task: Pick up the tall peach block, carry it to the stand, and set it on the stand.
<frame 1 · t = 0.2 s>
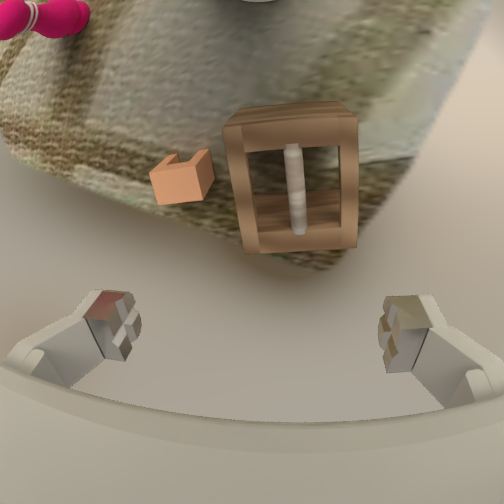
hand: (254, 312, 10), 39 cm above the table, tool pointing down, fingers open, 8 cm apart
tall peach block: (191, 166, 47), on the table
stand: (293, 155, 45), on the table
pepper mill: (76, 18, 33), on the table
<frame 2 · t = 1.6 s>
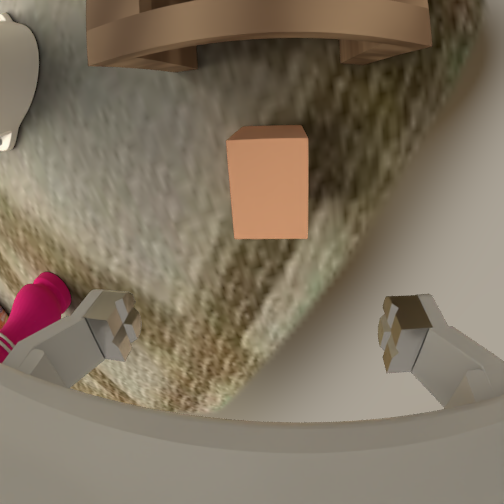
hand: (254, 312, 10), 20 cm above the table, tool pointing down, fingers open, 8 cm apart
tall peach block: (273, 163, 27), on the table
pepper mill: (55, 289, 38), on the table
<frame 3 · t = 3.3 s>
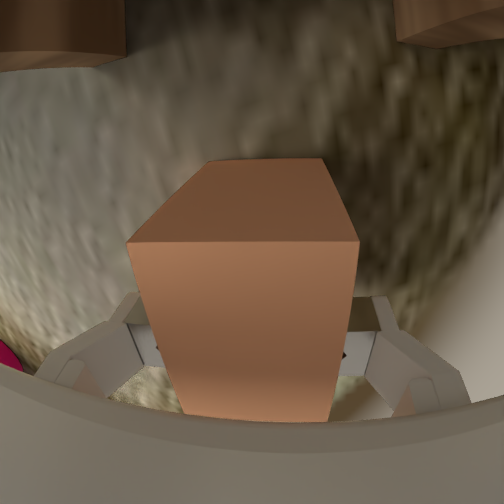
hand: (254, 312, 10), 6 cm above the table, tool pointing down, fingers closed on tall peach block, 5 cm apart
tall peach block: (267, 229, 15), on the table, touching gripper
pepper mill: (5, 353, 26), on the table
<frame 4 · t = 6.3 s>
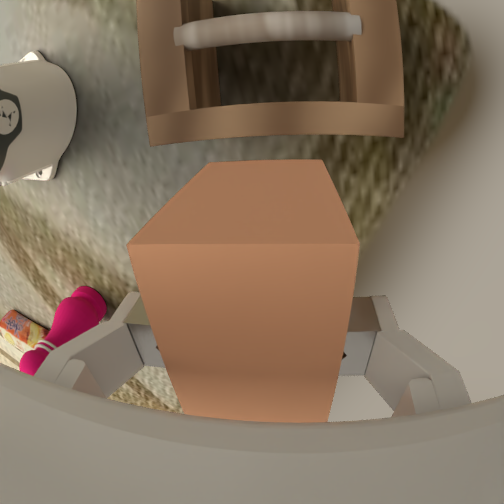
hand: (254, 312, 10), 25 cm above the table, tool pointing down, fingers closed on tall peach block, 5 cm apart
tall peach block: (267, 230, 15), point 19 cm above the table, touching gripper
stand: (276, 53, 26), on the table
snack package: (48, 334, 53), on the table
pepper mill: (91, 300, 45), on the table
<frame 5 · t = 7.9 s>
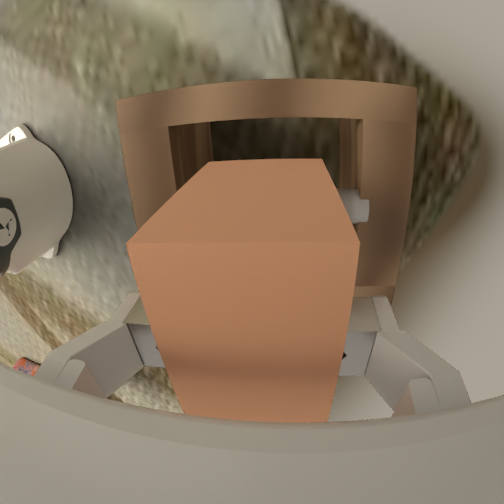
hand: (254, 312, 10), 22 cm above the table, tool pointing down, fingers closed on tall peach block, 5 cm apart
tall peach block: (267, 229, 15), point 16 cm above the table, touching gripper
stand: (276, 158, 28), on the table
snack package: (57, 374, 55), on the table
when the fingers open (15 cm above the table, at t = 9.4 s): tall peach block stays where it is, resting on stand.
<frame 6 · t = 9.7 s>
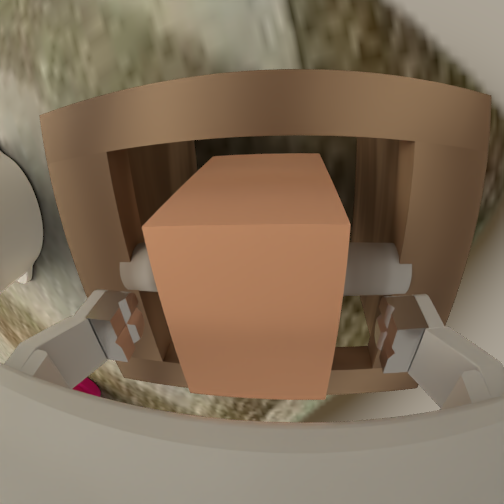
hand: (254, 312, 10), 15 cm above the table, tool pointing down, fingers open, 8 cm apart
tall peach block: (268, 220, 16), point 8 cm above the table, touching stand
stand: (276, 177, 23), on the table
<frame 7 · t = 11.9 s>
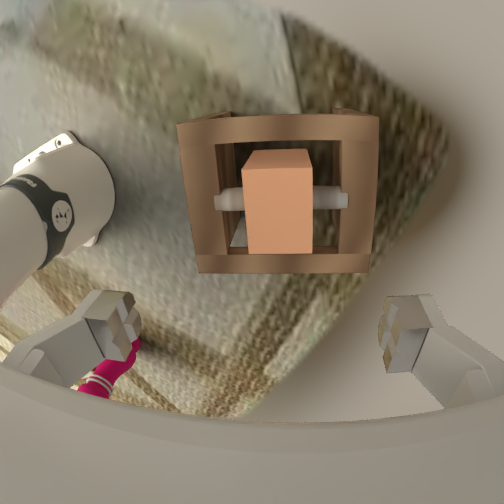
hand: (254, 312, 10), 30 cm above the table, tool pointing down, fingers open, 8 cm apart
tall peach block: (281, 183, 30), point 8 cm above the table, touching stand
stand: (284, 164, 37), on the table
pepper mill: (127, 336, 56), on the table
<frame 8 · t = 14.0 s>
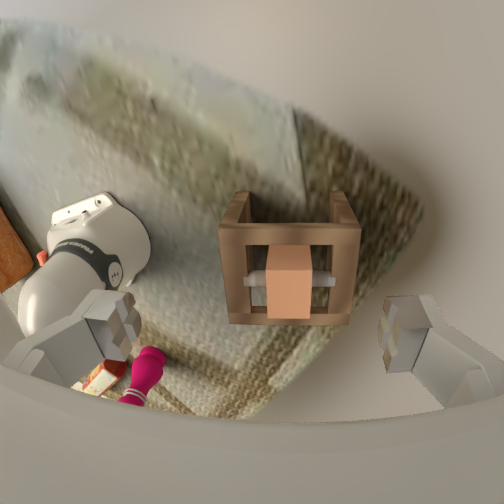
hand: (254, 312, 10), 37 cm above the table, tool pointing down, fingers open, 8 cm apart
tall peach block: (289, 259, 42), point 8 cm above the table, touching stand
stand: (290, 233, 49), on the table
snack package: (107, 369, 75), on the table
pepper mill: (154, 354, 68), on the table
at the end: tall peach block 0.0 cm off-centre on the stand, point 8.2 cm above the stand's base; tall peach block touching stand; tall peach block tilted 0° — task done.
